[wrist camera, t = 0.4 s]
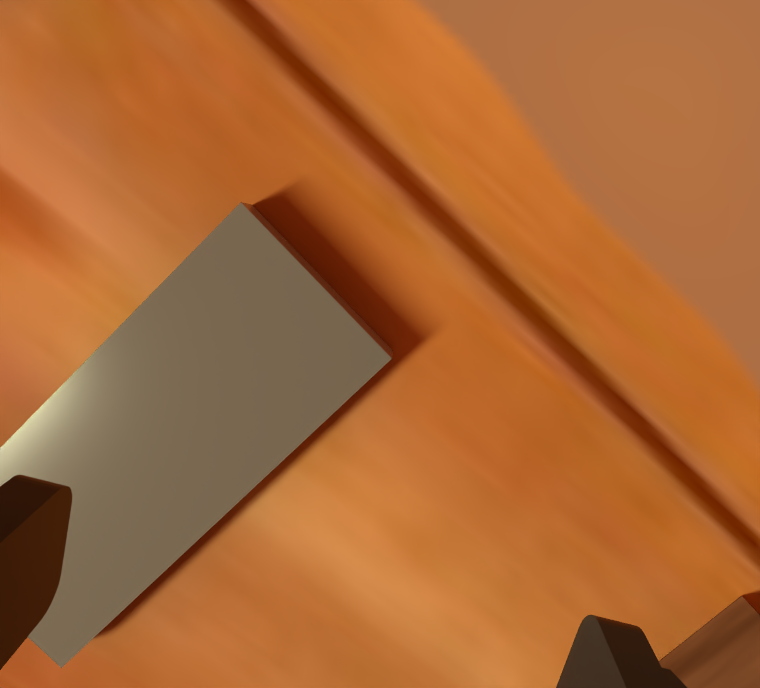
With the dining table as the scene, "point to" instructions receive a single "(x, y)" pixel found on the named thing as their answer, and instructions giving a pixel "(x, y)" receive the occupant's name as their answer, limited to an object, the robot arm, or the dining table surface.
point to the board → (186, 415)
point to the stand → (721, 651)
